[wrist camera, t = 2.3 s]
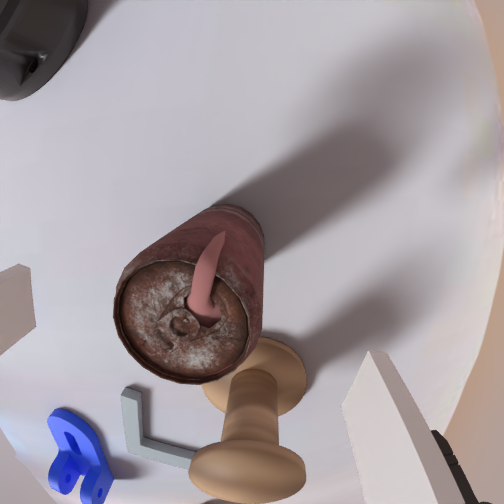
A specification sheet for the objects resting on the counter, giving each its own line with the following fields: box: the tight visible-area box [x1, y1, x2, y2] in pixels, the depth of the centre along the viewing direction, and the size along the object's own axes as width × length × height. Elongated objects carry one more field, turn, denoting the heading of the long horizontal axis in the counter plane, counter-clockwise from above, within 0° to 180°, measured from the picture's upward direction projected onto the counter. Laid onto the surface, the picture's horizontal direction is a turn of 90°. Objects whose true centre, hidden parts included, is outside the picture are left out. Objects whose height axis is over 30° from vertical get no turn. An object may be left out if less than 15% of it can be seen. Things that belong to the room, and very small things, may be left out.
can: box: [113, 204, 264, 385], centre depth 17 cm, size 6×6×14 cm
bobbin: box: [188, 337, 307, 504], centre depth 21 cm, size 10×10×12 cm
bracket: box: [47, 409, 114, 504], centre depth 30 cm, size 18×8×9 cm, turn 172°
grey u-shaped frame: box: [121, 387, 196, 470], centre depth 30 cm, size 12×15×2 cm
